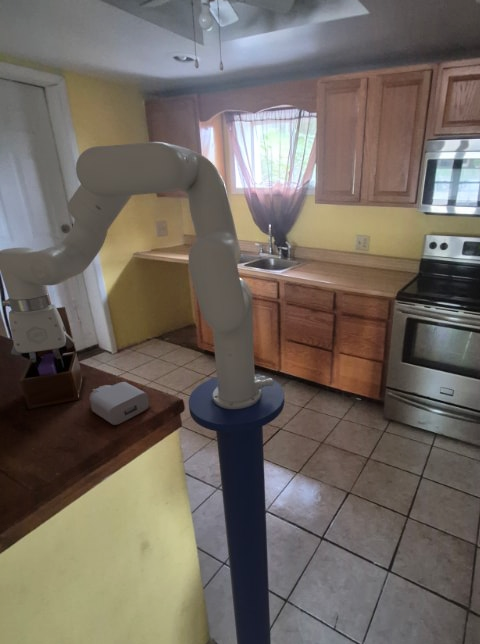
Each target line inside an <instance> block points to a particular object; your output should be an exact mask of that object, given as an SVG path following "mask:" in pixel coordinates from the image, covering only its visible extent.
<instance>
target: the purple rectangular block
mask: <svg viewBox="0 0 480 644" xmlns="http://www.w3.org/2000/svg"><path fill="white" fill-rule="evenodd" d="M41 358H42V360H41V362H40V364H39V367H38V371H39V374H40V376H43V375H49V374H55V373H57V370H56V367H55V363H54V353H51V354H44V355H43V357H41Z"/></svg>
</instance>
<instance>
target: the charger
mask: <svg viewBox="0 0 480 644" xmlns="http://www.w3.org/2000/svg"><path fill="white" fill-rule="evenodd" d="M91 391H92V392H91V393H90V394H89V404H90V409H91V411H92V412H93V413H94V414H96V415H97V416H99V417H101V418H102V419H104V420H105V421H107V422H108V423H110V424H111V425H112V426H117V425H120V424H122V423H124V422H126V421H127V420H129V419H131V418H133V417H135V416H137V415H139V414H140V413H142V412H145V411H146V410H147V409H148V408H149V407H150V403H149V396H148V393H147V392H145V391H143V390H141V389H139V388H138V387H136V386H134V385H132V384H130V383H129V382H126V381H120V382H118V383H116V384H113V385H111V384H110V385H109V384H104V385H99V386H98V387H97V388H92V389H91Z"/></svg>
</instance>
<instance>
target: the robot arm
mask: <svg viewBox="0 0 480 644" xmlns="http://www.w3.org/2000/svg"><path fill="white" fill-rule="evenodd" d="M75 165H76V166H75V173H76V177H77V180H78V181H79V187H78V188H77V189H76V191H75V192H74V194H73V195H72V196H71V198H70V199H69V200H68V202H67V211H68V213H69V214H70V215H71V217H72V218H73V219H74V221H73V224H72V227H71V228H70V230H69V232H68V233H67V235H66V236H65V238H64V239H63V241H61V243H60V244H57V245H54V246H52V247H51V246H50V247H48V248H45V249H41V250H38V251H37V250H36V249H34V248H31V247H11V248H10V247H9V248H5V249H1V250H0V275H1V277H2V280H3V284H4V287H5V291H6V294H7V297H8V298H7V299H5V300H4V299H3V300H2V301H1V303H2V306H3V307H9V308H10V310H9V311H8V322H9V327H10V328H9V329H10V333H11V338H12V342H13V345H12V347H11V351H10V353H11V355H15V356H19V357H23V358H25V359H26V360H28V361H29V360H30V361H31V362H33V363H34V367H35V370H36V372H39V371H38V367H39V364H40V362H41V360H42V357H40V356H38V351H44V350H51V349H52V351H53V353H54V363H55V367H56V370H57V373H61V371H62V368H64V364H63V360H62V355H65V354H66V353H65V351H66V350H67V349H69V348H71V347H72V346H74V345H75V344H76V341H75V340H74V338H73V339H72V338H71V337H70V336H69V335H68V334H67V333H66V331H65V327H64V325H63V322H62V319H61V317H60V315H59V312H58V310H57V308H58V307H57V306H56V305H55V304H53V303H52V301H51V297H50V294H49V290H48V286H55V285H59V284H61V283H63V282H65V281H68V280H69V279H72V278H73V277H76V276H79V275H80V274H83V272H84V271H86V270H87V269H88V267H89V266H90V265H91V263H92V262H93V261H94V259H95V258H96V257H97V255H98V254H99V253H100V251H101V250H102V249H103V246H104V244H105V242H106V239H107V237H108V231H109V229H110V228H111V226H112V225H113V223H114V222H115V221H116V219H117V217H118V216H119V215H120V213H121V212H122V211H123V209H124V208H125V206H126V205H127V204H128V203H129V201H130V199H131V198H132V197H133V196H138V195H150V194H164V193H165V194H166V193H173V192H179V191H182V192H184V193H185V195H186V197H187V199H188V204H189V205H188V206H189V207H188V208H189V214H190V217H191V221H192V224H193V229H194V233H195V239H196V240H195V241H194V242H193V243H192V244H191V246H190V249H189V251H188V269H189V272H190V277H191V281H192V285H193V289H194V292H195V295H196V299H197V303H198V307H199V311H200V313H201V316H202V319H203V321H205V323H206V324H207V325H208V326H209V328H211V329H212V335H213V349H214V360H215V370H216V377H217V383H218V387H217V388H216V389H215V390H214V392H213V395H212V396H213V401H214V403H215V404H217V405H218V406H220V407H222V408H226V409H242V408H246V407H249V406H251V405H253V404H255V403H256V402H258V401H259V399H260V398H261V389H262V387H267V386H272V385H273V380H274V379H273V378H271V377H269V378H270V379H265V376H266V375H264V376H261V377H257V378H256V377H255V374H256V372H255V352H254V349H255V348H254V316H253V315H254V312H253V311H254V298H253V292H252V290H251V287H250V286H249V284H248V283H247V282H246V280H244V278H241V277H240V273H239V267H238V265H239V263H240V261H241V257H242V250H241V247H240V243H239V239H238V235H237V231H236V225H235V221H234V216H233V212H232V207H231V204H230V200H229V195H228V192H227V187H226V184H225V181H224V179H223V176H222V175H221V172H220V171H219V170H218V169H217V167H216V165H214V163H213V162H212V161H210V160H209V158H207V157H206V156H204V155H202V154H201V153H198V152H197V151H195V150H192V149H189V148H187V147H184V146H181V145H177V144H172V143H169V142H168V143H167V142H163V141H148V142H137V143H124V144H113V145H112V144H111V145H99V146H97V145H96V146H91V147H89V148H87V149H85V150H84V151H82V152H81V153H80V154H79V156H78V157H77V161H76V163H75ZM75 346H76V345H75ZM39 375H40V374H39ZM272 379H273V380H272Z"/></svg>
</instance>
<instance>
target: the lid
mask: <svg viewBox="0 0 480 644" xmlns="http://www.w3.org/2000/svg"><path fill="white" fill-rule="evenodd" d="M56 308H57V310H58V312H59V315H60V317H61V319H62V322H63V325H64V327H65V331H66V333H67V334H68V335H69V336H70V337H71V338H72V339H73V340H74V337H73V333H72V329H71V325H70V321H69V317H68V314H67V313H68V312H67V309H66V306H61V307H56ZM51 353H53V351H52V349H51V350H44V351H38V356H40V357H41V358H42V357H43V355H44V354H51ZM72 353H77V348H76V345H74V346H72V347H71V348H69V349H67V350H66V351H65V353H64V354H72Z"/></svg>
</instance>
